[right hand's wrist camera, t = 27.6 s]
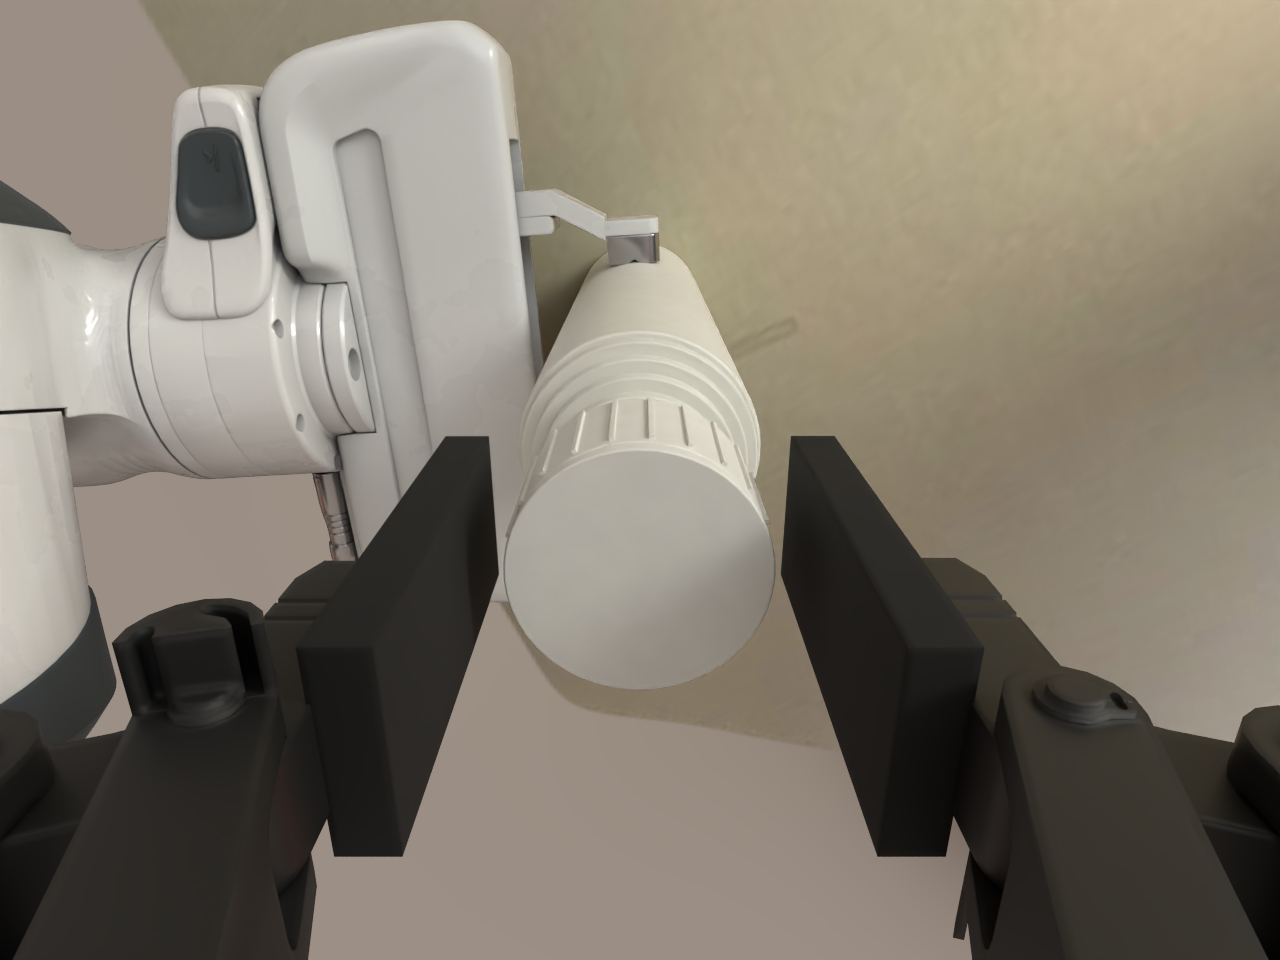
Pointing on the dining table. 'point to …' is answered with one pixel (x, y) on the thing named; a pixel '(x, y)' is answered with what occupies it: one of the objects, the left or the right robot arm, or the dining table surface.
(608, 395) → the bottle
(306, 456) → the left robot arm
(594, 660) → the cap
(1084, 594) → the dining table surface
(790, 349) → the dining table surface
